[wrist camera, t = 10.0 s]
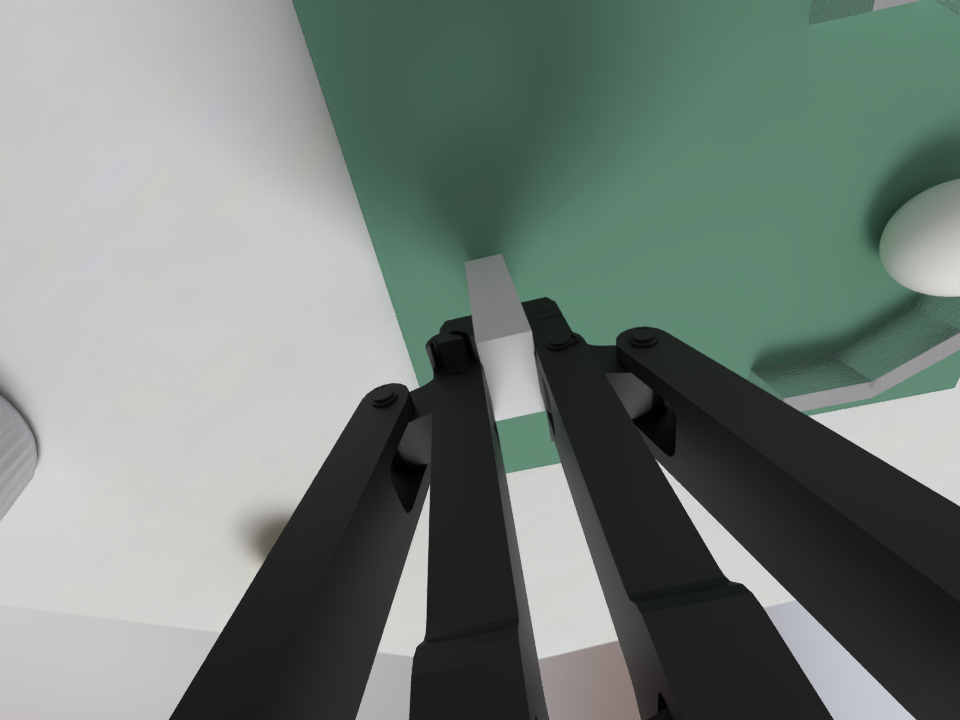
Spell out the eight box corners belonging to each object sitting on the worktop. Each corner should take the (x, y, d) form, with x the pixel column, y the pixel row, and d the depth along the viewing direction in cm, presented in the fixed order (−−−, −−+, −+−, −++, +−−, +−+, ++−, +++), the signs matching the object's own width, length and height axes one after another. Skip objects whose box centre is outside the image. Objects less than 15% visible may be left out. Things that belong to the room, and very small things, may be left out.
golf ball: (899, 198, 15) (1103, 203, 12) (907, 160, 17) (1078, 159, 15) (857, 305, 18) (1018, 328, 15) (869, 260, 20) (1009, 273, 17)
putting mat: (292, -10, 13) (287, -14, 13) (1235, -240, 12) (1264, -252, 12) (451, 477, 25) (451, 483, 24) (945, 382, 23) (954, 387, 23)
